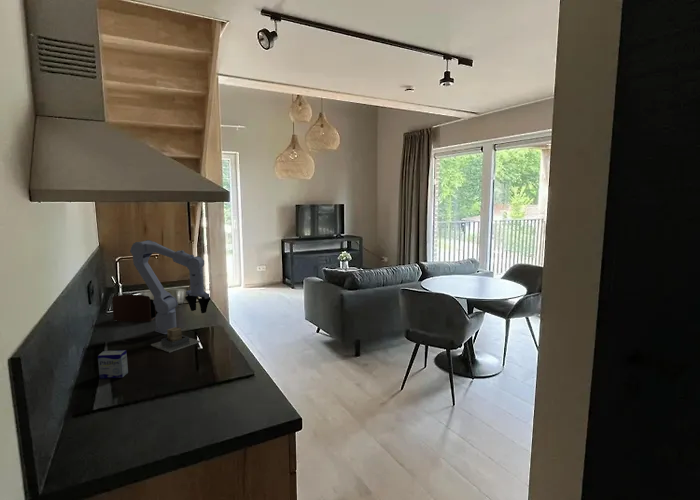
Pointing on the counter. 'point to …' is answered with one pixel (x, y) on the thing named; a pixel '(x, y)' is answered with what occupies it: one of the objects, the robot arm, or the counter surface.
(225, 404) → the counter surface
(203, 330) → the counter surface
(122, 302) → the letter holder
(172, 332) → the beige rectangular block
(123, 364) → the box
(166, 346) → the socket plate
